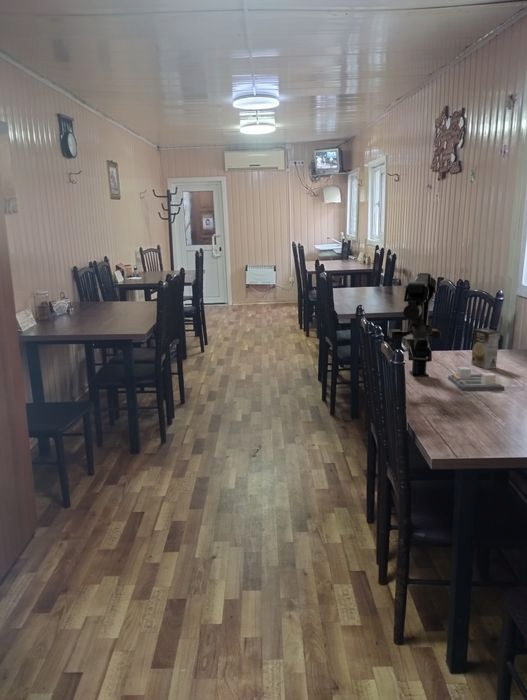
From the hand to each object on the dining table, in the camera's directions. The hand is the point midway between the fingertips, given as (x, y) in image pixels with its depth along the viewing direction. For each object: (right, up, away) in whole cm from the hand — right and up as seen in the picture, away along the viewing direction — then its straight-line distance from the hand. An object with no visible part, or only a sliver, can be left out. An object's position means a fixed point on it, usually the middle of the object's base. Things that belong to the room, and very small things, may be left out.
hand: (413, 355), depth 217 cm
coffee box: (+39, -5, +31) cm, 50 cm away
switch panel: (+25, -11, +4) cm, 28 cm away
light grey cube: (+22, -9, +8) cm, 25 cm away
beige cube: (+29, -11, -1) cm, 31 cm away
